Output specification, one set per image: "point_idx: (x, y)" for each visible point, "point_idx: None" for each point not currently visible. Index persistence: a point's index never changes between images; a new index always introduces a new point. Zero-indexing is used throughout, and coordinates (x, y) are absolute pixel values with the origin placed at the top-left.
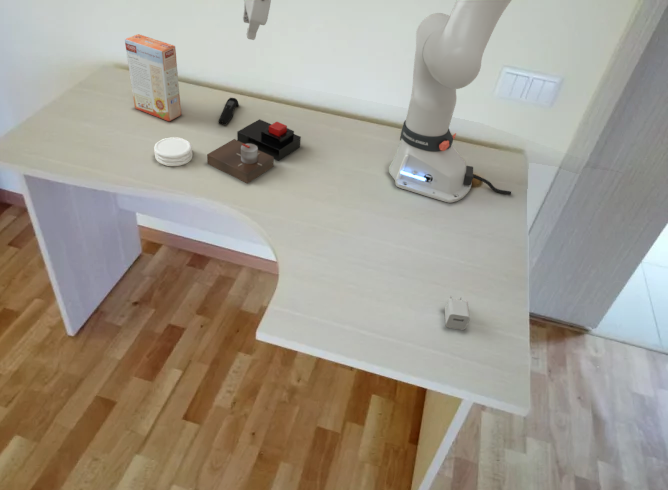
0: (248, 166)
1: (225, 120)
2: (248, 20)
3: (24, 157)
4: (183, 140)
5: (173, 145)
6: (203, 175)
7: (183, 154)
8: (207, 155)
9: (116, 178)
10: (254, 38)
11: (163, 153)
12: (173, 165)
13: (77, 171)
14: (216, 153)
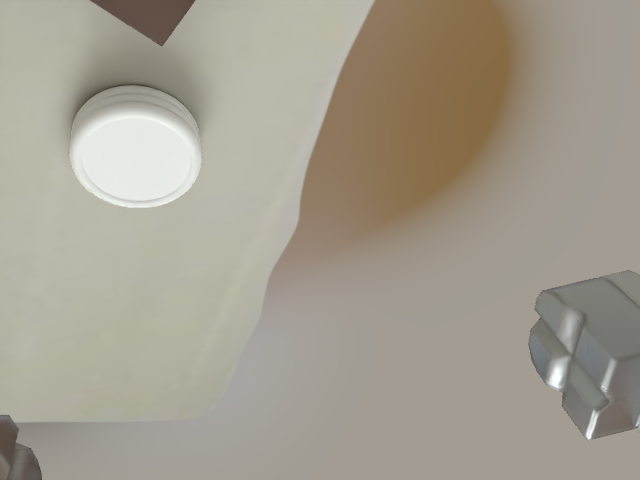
0: None
1: None
2: (9, 466)
3: (201, 380)
4: (87, 138)
5: (132, 161)
6: (236, 33)
7: (182, 123)
8: (163, 43)
9: (268, 237)
10: (634, 280)
11: (192, 178)
12: (198, 132)
13: (244, 303)
14: (147, 10)
